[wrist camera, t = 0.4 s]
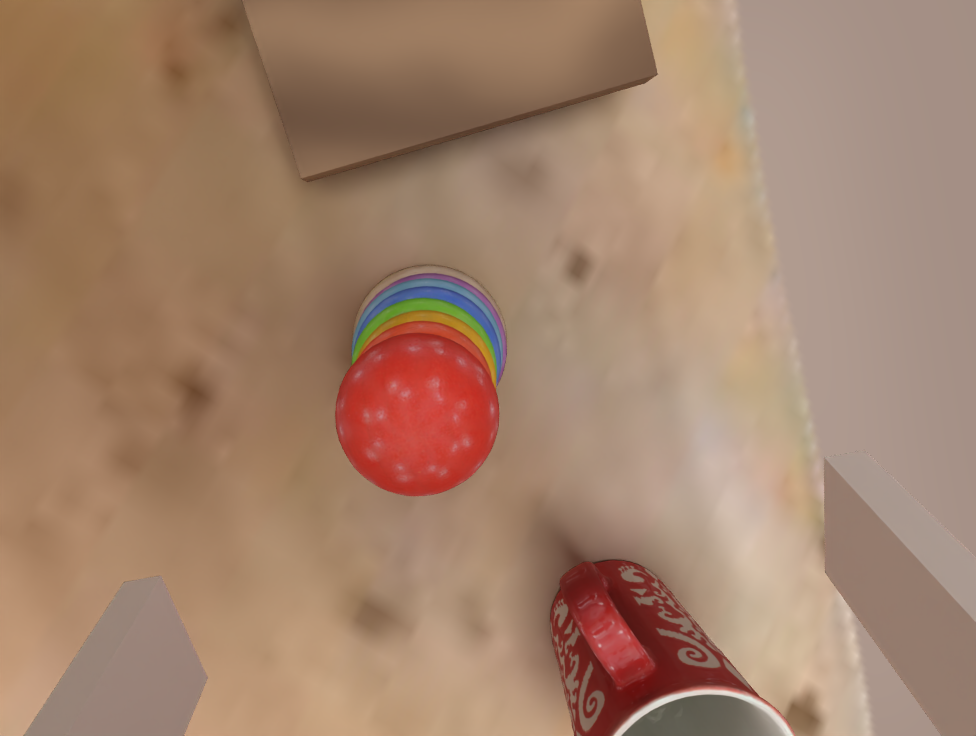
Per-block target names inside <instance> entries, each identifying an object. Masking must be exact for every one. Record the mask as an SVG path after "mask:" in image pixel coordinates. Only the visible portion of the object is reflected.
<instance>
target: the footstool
mask: <svg viewBox="0 0 976 736" xmlns="http://www.w3.org/2000/svg"><path fill="white" fill-rule="evenodd" d="M242 2H243V5H244V8H245V11H246V14H247V17H248V20H249V23H250V26H251V29H252V32H253V35H254V38H255V41H256V45H257V48H258V51H259V54H260V57H261V60H262V63H263V66H264V69H265V72H266V75H267V78H268V81H269V84H270V87H271V90H272V93H273V96H274V99H275V102H276V105H277V108H278V111H279V114H280V117H281V120H282V123H283V126H284V129H285V132H286V135H287V138H288V141H289V144H290V147H291V150H292V153H293V156H294V159H295V162H296V165H297V168H298V171H299V174H300V177H301V179H303V180H305V181H307V182H309V181H313V180H316V179H319V178H323V177H326V176H330V175H333V174H336V173H340V172H343V171H347V170H350V169H354V168H357V167H360V166H364V165H367V164H371V163H374V162H377V161H381V160H384V159H388V158H391V157H395V156H398V155H401V154H405V153H408V152H412V151H415V150H418V149H422V148H425V147H429V146H432V145H436V144H439V143H442V142H446V141H449V140H453V139H456V138H459V137H463V136H466V135H470V134H473V133H477V132H480V131H483V130H487V129H490V128H494V127H497V126H500V125H504V124H507V123H511V122H514V121H518V120H521V119H524V118H528V117H531V116H535V115H538V114H541V113H545V112H548V111H552V110H555V109H559V108H562V107H565V106H569V105H572V104H576V103H579V102H582V101H586V100H589V99H593V98H596V97H599V96H603V95H606V94H610V93H613V92H617V91H620V90H623V89H627V88H630V87H634V86H637V85H640V84H644V83H646V82H648V81H649V80H650V79H652V78H653V77H654V76H656V75H657V74H658V73H657V69H656V65H655V60H654V56H653V52H652V47H651V43H650V39H649V34H648V30H647V26H646V21H645V17H644V13H643V8H642V4H641V0H242Z"/></svg>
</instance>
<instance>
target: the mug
mask: <svg viewBox="0 0 976 736" xmlns="http://www.w3.org/2000/svg"><path fill="white" fill-rule="evenodd" d="M560 588H561V590H560V591H559V593H558V594H557V596H556V598H555V601H554V603H553V606H552V610H551V616H550V627H551V635H552V642H553V646H554V649H555V654H556V657H557V661H558V665H559V670H560V674H561V679H562V684H563V687H564V692H565V697H566V701H567V705H568V709H569V713H570V717H571V722H572V728H573V731H574V736H795V734H794V731H793V730H792V728H791V727H790V725H789V723H788V722H787V720H786V719H785V718H784V717H783V716H782V714H781V713H780V712H779V711H778V710H777V709H776V708H775V707H773V706H772V705H771V704H770V703H768V702H767V701H766V700H764V699H763V698H761V697H760V696H759V695H758V694H757V693H756V692H755V691H754V690H753V688H752V687H751V686H750V685H749V684H748V683H747V681H746V680H745V679H744V678H743V677H742V675H741V674H740V673H739V672H738V671H737V670H736V668H735V667H734V666H733V665H732V664H731V662H730V661H729V660H728V659H727V658H726V657H725V655H724V654H723V653H722V652H721V651H720V650H719V649H718V648H717V647H716V646H715V644H714V643H713V642H712V641H711V640H710V639H709V637H708V636H707V635H706V634H705V632H704V631H703V630H702V629H701V628H700V626H699V625H698V624H697V623H696V621H695V620H694V619H693V618H692V617H691V616H690V615H689V613H688V612H687V611H686V610H685V609H684V608H683V607H682V605H681V604H680V603H679V602H678V601H677V600H676V598H675V597H674V595H673V594H672V593H671V591H670V590H668V589H667V587H666V586H665V585H664V584H663V583H662V582H661V581H660V580H659V579H658V578H657V577H656V576H655V575H654V574H653V573H652V572H650V571H649V570H647V569H645V568H644V567H642V566H640V565H637V564H634V563H632V562H627V561H617V560H610V561H604V562H599V563H595V564H593V563H591V562H583V563H581V564H579V565H577V566H576V567H574V568H572V569H571V570H569V571H568V572H567V573H565V574H564V575H563V576H562V578H561V579H560Z"/></svg>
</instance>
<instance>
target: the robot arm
mask: <svg viewBox="0 0 976 736" xmlns="http://www.w3.org/2000/svg"><path fill="white" fill-rule="evenodd" d="M824 513H825V573H826V574H827V576H828V577H829V579H830V580H831V581H832V583H833V584H834V586H835V587H836V588H837V590H838V591H839V593H840V594H841V595H842V597H843V598H844V600H845V601H846V602H847V604H848V605H849V607H850V608H851V609H852V611H853V612H854V614H855V615H856V616H857V618H858V619H859V621H860V622H861V623H862V625H863V626H864V628H865V629H866V630H867V632H868V633H869V635H870V636H871V637H872V639H873V640H874V642H875V643H876V644H877V646H878V647H879V649H880V650H881V651H882V653H883V654H884V656H885V657H886V658H887V659H888V661H889V663H890V664H891V666H892V667H893V668H894V670H895V671H896V673H897V674H898V675H899V677H900V678H901V680H902V681H903V682H904V684H905V685H906V686H907V688H908V689H909V691H910V692H911V694H912V695H913V696H914V698H915V699H916V701H917V702H918V703H919V705H920V706H921V708H922V709H923V710H924V712H925V713H926V715H927V716H928V717H929V719H930V720H931V721H932V723H933V724H934V726H935V727H936V729H937V730H938V731H939V733H940V734H941V736H976V557H975V556H974V555H973V554H972V553H971V552H970V551H969V550H968V549H967V548H966V547H965V546H964V545H963V544H962V543H961V542H960V541H959V540H958V539H957V538H956V537H954V536H953V535H952V534H951V533H950V532H949V531H948V530H947V529H946V528H945V527H944V526H943V525H942V524H941V523H940V522H939V521H938V520H937V519H936V518H935V517H934V516H933V515H932V514H931V513H929V512H928V511H927V510H926V509H925V508H924V507H923V506H922V505H921V504H920V503H919V502H918V501H917V500H916V499H915V498H914V497H913V496H912V495H911V494H910V493H908V491H907V490H906V489H904V488H903V487H902V486H901V485H900V484H899V483H898V482H897V481H896V480H895V479H894V478H893V477H892V476H891V475H890V474H889V473H888V472H886V470H885V469H884V468H883V467H882V466H880V465H879V464H878V463H877V462H876V461H875V460H874V459H873V458H872V457H871V456H870V455H869V454H868V453H867V452H866V451H864V450H862V451H857V452H851V453H845V454H840V455H834V456H829V457H824ZM207 679H208V677H207V675H206V673H205V671H204V669H203V666H202V664H201V662H200V660H199V658H198V655H197V653H196V651H195V649H194V647H193V645H192V642H191V640H190V638H189V636H188V634H187V631H186V629H185V627H184V625H183V623H182V620H181V618H180V616H179V614H178V612H177V609H176V607H175V605H174V603H173V601H172V599H171V596H170V594H169V592H168V590H167V588H166V585H165V583H164V581H163V579H162V577H161V576H156V577H150V578H145V579H139V580H133V581H128V582H124V583H123V584H122V586H121V587H120V589H119V590H118V592H117V594H116V595H115V597H114V598H113V600H112V601H111V603H110V604H109V606H108V607H107V609H106V610H105V612H104V613H103V615H102V616H101V618H100V620H99V621H98V623H97V624H96V626H95V627H94V629H93V630H92V632H91V633H90V635H89V636H88V638H87V639H86V641H85V642H84V644H83V646H82V647H81V649H80V650H79V652H78V653H77V655H76V656H75V658H74V659H73V661H72V662H71V664H70V665H69V667H68V668H67V670H66V672H65V673H64V675H63V676H62V678H61V679H60V681H59V682H58V684H57V685H56V687H55V688H54V690H53V691H52V693H51V695H50V696H49V698H48V699H47V701H46V702H45V704H44V705H43V707H42V708H41V710H40V711H39V713H38V714H37V716H36V717H35V719H34V721H33V722H32V724H31V725H30V727H29V728H28V730H27V731H26V733H25V734H24V736H184V734H185V732H186V729H187V727H188V724H189V722H190V720H191V717H192V715H193V712H194V710H195V708H196V705H197V703H198V700H199V698H200V696H201V693H202V691H203V688H204V686H205V683H206V681H207Z"/></svg>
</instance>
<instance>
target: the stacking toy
mask: <svg viewBox="0 0 976 736" xmlns="http://www.w3.org/2000/svg"><path fill="white" fill-rule="evenodd" d="M506 355H507V337H506V328H505V323H504V319H503V317H502V314H501V312H500V310H499V308H498V306H497V304H496V302H495V301H494V299H493V298H492V296H491V295H490V294H489V293H488V291H487V290H486V289H485V288H484V287H483V286H482V285H480V284H479V283H478V282H477V281H476V280H474V279H473V278H471V277H470V276H468V275H466V274H464V273H462V272H460V271H457V270H455V269H452V268H448V267H443V266H436V265H421V266H414V267H410V268H406V269H403V270H400V271H398V272H396V273H394V274H391V275H389V276H388V277H386V278H385V279H384V280H382V281H381V282H380V283H378V284H377V285H376V286H375V287H374V288H373V289H372V290H371V292H370V293H369V294H368V295H367V296H366V298H365V299H364V301H363V303H362V305H361V307H360V309H359V311H358V314H357V317H356V320H355V324H354V329H353V342H352V366H351V367H350V369H349V370H348V372H347V373H346V375H345V377H344V379H343V381H342V383H341V386H340V388H339V393H338V397H337V401H336V412H335V418H336V429H337V433H338V437H339V441H340V443H341V445H342V448H343V450H344V452H345V454H346V456H347V457H348V459H349V460H350V462H351V463H352V465H353V466H354V468H355V469H356V470H357V471H358V472H359V473H360V474H361V475H363V476H364V477H365V478H366V479H367V480H369V481H370V482H372V483H373V484H375V485H377V486H378V487H380V488H382V489H384V490H387V491H390V492H393V493H396V494H401V495H405V496H427V495H434V494H438V493H442V492H444V491H446V490H449V489H451V488H453V487H455V486H457V485H459V484H461V483H462V482H464V481H466V480H467V479H468V478H469V477H471V476H472V475H473V474H474V473H475V472H476V471H477V470H478V468H479V467H480V466H481V465H482V464H483V462H484V461H485V459H486V458H487V456H488V454H489V453H490V451H491V449H492V447H493V444H494V441H495V438H496V435H497V431H498V426H499V404H498V397H497V393H496V386H497V385H498V383H499V381H500V378H501V376H502V374H503V371H504V367H505V363H506Z"/></svg>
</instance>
